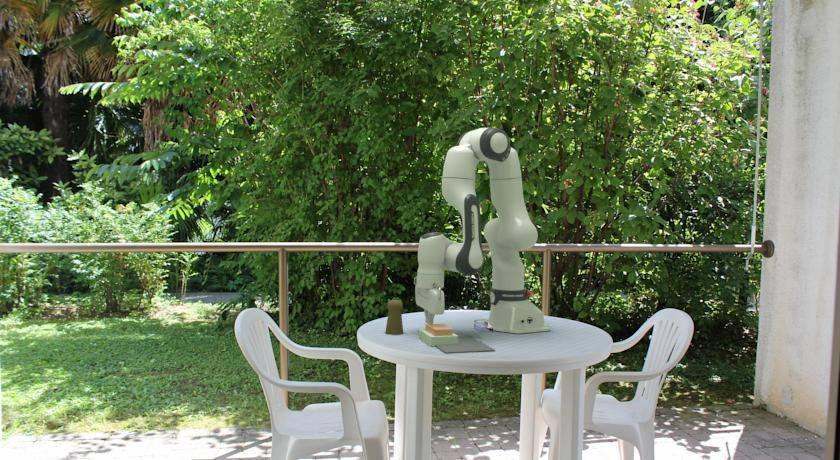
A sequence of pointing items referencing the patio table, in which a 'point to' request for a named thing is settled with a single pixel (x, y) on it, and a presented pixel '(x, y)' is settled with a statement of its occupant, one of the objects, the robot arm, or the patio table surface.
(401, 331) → the cork
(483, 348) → the mat
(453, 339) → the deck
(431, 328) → the block
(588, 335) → the patio table surface
